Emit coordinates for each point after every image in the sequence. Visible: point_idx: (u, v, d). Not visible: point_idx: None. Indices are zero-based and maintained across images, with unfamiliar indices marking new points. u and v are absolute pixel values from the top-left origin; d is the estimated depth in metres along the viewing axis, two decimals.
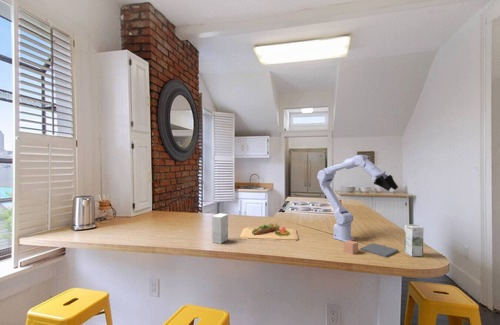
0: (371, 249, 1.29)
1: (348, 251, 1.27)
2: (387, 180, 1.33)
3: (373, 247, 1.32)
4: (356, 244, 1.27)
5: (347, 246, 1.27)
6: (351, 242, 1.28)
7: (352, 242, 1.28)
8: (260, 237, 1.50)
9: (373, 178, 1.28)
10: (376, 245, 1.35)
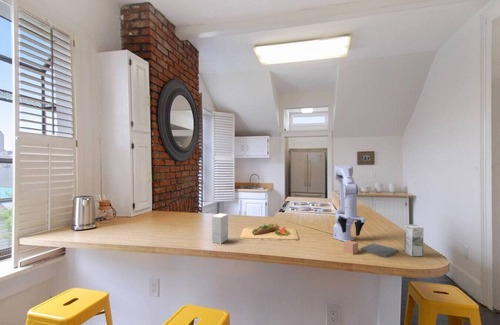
0: (371, 249, 1.29)
1: (348, 251, 1.27)
2: None
3: (373, 247, 1.32)
4: (356, 244, 1.27)
5: (347, 246, 1.27)
6: (351, 242, 1.28)
7: (352, 242, 1.28)
8: (260, 237, 1.50)
9: None
10: (376, 245, 1.35)
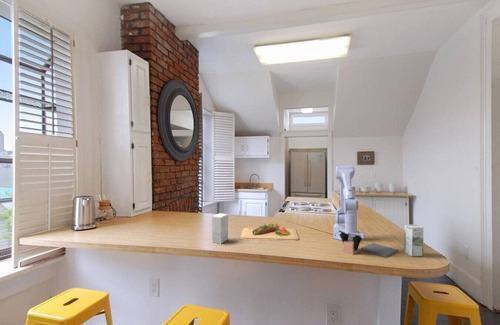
0: (371, 249, 1.29)
1: (348, 251, 1.27)
2: None
3: (373, 247, 1.32)
4: None
5: (347, 245, 1.27)
6: (351, 242, 1.28)
7: (352, 242, 1.28)
8: (261, 237, 1.49)
9: None
10: (376, 245, 1.35)
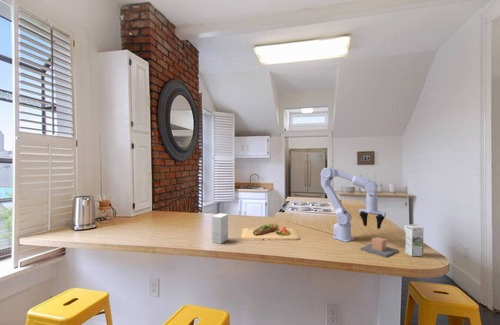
0: (371, 249, 1.29)
1: (377, 248, 1.28)
2: None
3: None
4: (384, 241, 1.28)
5: (376, 243, 1.28)
6: (379, 239, 1.29)
7: (380, 239, 1.29)
8: (262, 237, 1.49)
9: None
10: None
